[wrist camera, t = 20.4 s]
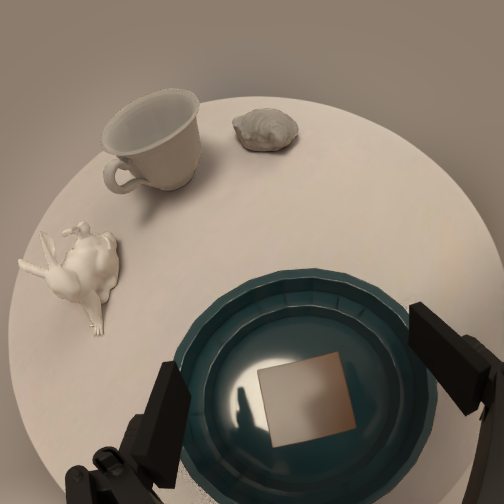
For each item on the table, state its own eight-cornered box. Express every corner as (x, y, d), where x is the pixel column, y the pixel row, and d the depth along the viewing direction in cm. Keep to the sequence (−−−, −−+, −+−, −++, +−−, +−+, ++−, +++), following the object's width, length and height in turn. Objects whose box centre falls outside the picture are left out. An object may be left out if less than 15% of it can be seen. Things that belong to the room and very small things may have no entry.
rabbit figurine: (102, 339, 28) (42, 309, 20) (57, 323, 30) (1, 292, 21) (134, 242, 34) (92, 191, 25) (89, 237, 35) (47, 192, 27)
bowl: (437, 343, 23) (467, 326, 18) (342, 528, 16) (353, 555, 11) (258, 264, 30) (250, 232, 25) (155, 433, 23) (122, 436, 18)
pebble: (236, 162, 38) (229, 133, 33) (235, 125, 42) (228, 98, 37) (303, 154, 37) (302, 123, 32) (293, 118, 41) (291, 90, 36)
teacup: (107, 219, 36) (67, 170, 28) (161, 141, 42) (138, 89, 34) (181, 241, 33) (144, 182, 24) (232, 149, 39) (217, 87, 30)
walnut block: (322, 370, 24) (338, 350, 15) (333, 418, 22) (356, 427, 13) (270, 382, 24) (256, 369, 15) (280, 431, 22) (272, 448, 13)
